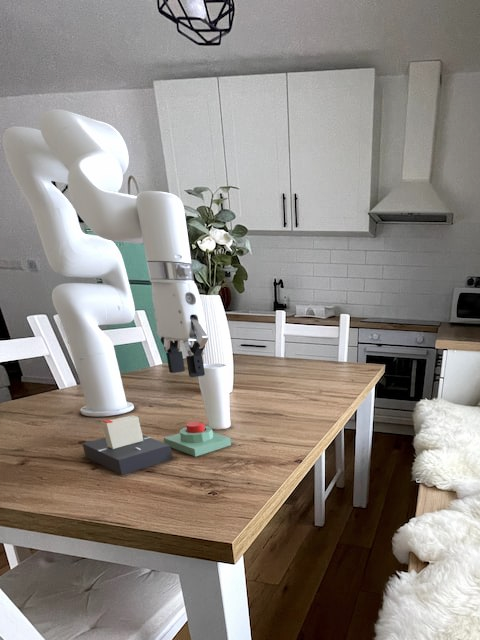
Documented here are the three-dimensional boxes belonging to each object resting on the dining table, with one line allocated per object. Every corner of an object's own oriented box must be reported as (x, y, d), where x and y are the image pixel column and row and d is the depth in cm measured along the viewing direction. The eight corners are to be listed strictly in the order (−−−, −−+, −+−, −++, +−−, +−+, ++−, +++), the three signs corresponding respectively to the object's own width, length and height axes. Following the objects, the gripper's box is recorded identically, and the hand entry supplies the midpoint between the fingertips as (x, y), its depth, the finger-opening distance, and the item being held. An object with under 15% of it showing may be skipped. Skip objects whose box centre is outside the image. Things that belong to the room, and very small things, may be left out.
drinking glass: (225, 432, 95) (217, 368, 89) (199, 429, 96) (190, 367, 90) (238, 424, 101) (232, 364, 95) (214, 422, 102) (206, 362, 96)
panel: (85, 457, 79) (81, 442, 77) (136, 443, 86) (133, 430, 85) (121, 475, 72) (117, 459, 70) (173, 458, 79) (170, 444, 78)
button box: (165, 445, 86) (162, 429, 85) (200, 434, 93) (198, 420, 91) (195, 456, 81) (192, 440, 79) (231, 444, 87) (229, 429, 86)
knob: (138, 438, 80) (132, 413, 78) (143, 440, 79) (138, 415, 77) (107, 446, 76) (100, 420, 74) (112, 449, 75) (106, 422, 73)
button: (183, 432, 85) (182, 424, 84) (198, 428, 88) (197, 420, 87) (194, 435, 83) (192, 427, 82) (208, 431, 86) (207, 423, 85)
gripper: (218, 275, 71) (229, 377, 79) (164, 275, 80) (179, 366, 87) (180, 273, 65) (196, 382, 73) (126, 273, 74) (146, 371, 82)
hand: (187, 373), depth 80 cm, fingers open, 6 cm apart
